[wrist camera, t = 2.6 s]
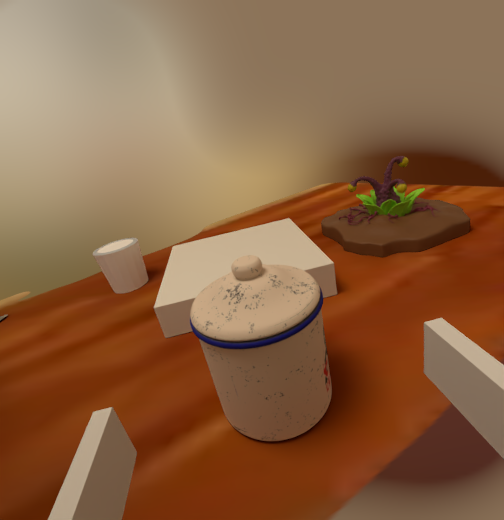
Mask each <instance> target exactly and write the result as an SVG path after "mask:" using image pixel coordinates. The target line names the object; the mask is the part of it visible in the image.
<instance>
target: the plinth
mask: <svg viewBox="0 0 504 520" xmlns="http://www.w3.org/2000/svg"><path fill="white" fill-rule="evenodd" d="M247 255H254V256H257V257H258V258H259V259H260V260H261V262H262V264H266V265H287V266H292V267H296V268H299V269H301V270H304V271H305V272H307V273H309V274H310V275H311V276H312V277H313V278H314V279H315V280H316V281H317V283H318V285H319V286H320V288H321V290H322V293H323V298H325V297H329V296H332V295H336V294H337V288H336V279H335V270H334V263H333V262H332V261H331V260H330V259H329V258H328V257H327V256H326V255H325V254H324V253H323V252H322V251H321V250H320V249H319V248H318V247H317V246H316V245H315V244H314V243H313V242H312V241H311V240H310V239H309V238H308V237H307V236H306V235H305V234H304V233H303V232H302V231H301V230H300V229H299V228H298V227H297V226H296V225H295V224H294V223H293V222H292V221H291V220H290V219H289V218H288V219H284V220H280V221H276V222H272V223H267V224H263V225H259V226H255V227H251V228H247V229H243V230H239V231H234V232H230V233H226V234H222V235H218V236H214V237H210V238H206V239H201V240H197V241H193V242H189V243H185V244H181V245H177V246H173V248H172V251H171V255H170V258H169V261H168V264H167V267H166V271H165V274H164V277H163V280H162V283H161V287H160V290H159V293H158V296H157V299H156V303H155V306H154V310H155V312H156V315H157V318H158V320H159V323H160V325H161V328H162V330H163V333H164V335H165V338H168V337H172V336H176V335H180V334H184V333H188V332H191V331H193V330H192V328H191V325H190V311H191V307H192V304H193V302H194V300H195V298H196V297H197V296H198V294H199V293H200V292H201V291H202V290H203V289H204V288H205V287H207V286H208V285H209V284H210V283H212V282H213V281H215V280H217V279H219V278H220V277H222V276H225V275H227V274H228V273H230V272H232V269H231V266H232V263H233V262H234V261H235V260H236V259H237V258H240V257H242V256H247Z"/></svg>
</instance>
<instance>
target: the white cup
mask: <svg viewBox="0 0 504 520" xmlns="http://www.w3.org/2000/svg"><path fill="white" fill-rule="evenodd" d="M93 256H94V257H95V259H96V261H97V263H98V264H99V266H100V268H101V269H102V271H103V273H104V275H105V277H106V278H107V280H108V282H109V284H110V285H111V287H112V289H113V291H114V292H115V293H127V292H130V291H133V290H136V289H138V288H140V287H142V286H143V285H144V284H146V283H147V281H148V280H149V279H148V276H147V272H146V268H145V265H144V261H143V257H142V254H141V250H140V247H139V243H138V240H137V238H126V239H121V240H117V241H114V242H111V243H109V244H106V245H104V246H102V247H100V248H98V249H96V250H95V251H94V252H93Z"/></svg>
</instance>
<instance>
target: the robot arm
mask: <svg viewBox="0 0 504 520" xmlns="http://www.w3.org/2000/svg"><path fill="white" fill-rule="evenodd" d="M424 373H425V374H426V376H427V377H428V378H429V379H430V380H431V381H432V382H433V383H434V384H435V385H436V386H437V387H438V388H439V390H440V391H441V392H442V393H443V394H444V395H445V396H446V397H447V398H448V399H449V400H450V401H451V403H452V404H453V405H454V406H455V407H456V408H457V409H458V410H459V411H460V412H461V413H462V414H463V415H464V417H465V418H466V419H467V420H468V421H469V422H470V423H471V424H472V425H473V426H474V427H475V428H476V430H477V431H478V432H479V433H480V434H481V435H482V436H483V437H484V438H485V439H486V440H487V441H488V442H489V444H490V445H492V447H493V448H494V449H495V450H496V451H497V452H498V453H499V454H500V455H501V457H502V458H503V459H504V365H503V364H501V363H500V362H499V361H497V360H496V359H495V358H493V357H492V356H491V355H490V354H488V353H487V352H486V351H484V350H483V349H482V348H480V347H479V346H478V345H476V344H475V343H474V342H472V341H471V340H470V339H469V338H467V337H466V336H465V335H463V334H462V333H461V332H459V331H458V330H457V329H455V328H454V327H453V326H452V325H450V324H449V323H448V322H446V321H445V320H444V319H442V318H439V319H435V320H432V321H428V322H424ZM136 455H137V452H136V450H135V448H134V446H133V444H132V442H131V441H130V439H129V437H128V435H127V433H126V431H125V429H124V428H123V426H122V424H121V422H120V420H119V418H118V416H117V415H116V413H115V411H114V409H113V407H110V408H106V409H103V410H99V411H95V412H93V414H92V416H91V419H90V421H89V423H88V426H87V428H86V431H85V433H84V435H83V438H82V440H81V442H80V445H79V447H78V449H77V452H76V454H75V457H74V459H73V461H72V464H71V466H70V468H69V471H68V473H67V476H66V478H65V480H64V483H63V485H62V487H61V490H60V492H59V494H58V497H57V499H56V502H55V504H54V506H53V509H52V511H51V513H50V516H49V518H48V520H122V516H123V512H124V508H125V503H126V499H127V494H128V490H129V486H130V481H131V477H132V473H133V468H134V464H135V459H136Z"/></svg>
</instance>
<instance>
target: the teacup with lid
mask: <svg viewBox="0 0 504 520" xmlns="http://www.w3.org/2000/svg"><path fill="white" fill-rule="evenodd" d="M231 269H232V272H230V273H228V274H227V275H225V276H222V277H220V278H219V279H217V280H215V281H213V282H212V283H210V284H209V285H208V286H207V287H205V288H204V289H203V290H202V291H201V292H200V293H199V294H198V296H197V297H196V298H195V300H194V302H193V304H192V307H191V311H190V325H191V328H192V330H193V332H194V334H195V335H196V336H197V337H198V338H199V340H200V343H201V346H202V349H203V352H204V355H205V358H206V360H207V363H208V366H209V369H210V372H211V375H212V378H213V381H214V384H215V387H216V390H217V393H218V396H219V399H220V402H221V405H222V408H223V411H224V413H225V415H226V418H227V419H228V421H229V422H230V423H231V425H232V426H233V427H234V428H235V429H236V430H238V431H239V432H241V433H242V434H244V435H246V436H248V437H250V438H253V439H257V440H262V441H281V440H286V439H290V438H293V437H296V436H298V435H300V434H302V433H304V432H306V431H308V430H309V429H311V428H312V427H313V426H314V425H315V424H316V423H318V422H319V420H320V419H321V418H322V417H323V415H324V414H325V412H326V410H327V409H328V406H329V404H330V400H331V395H332V385H331V377H330V370H329V363H328V356H327V349H326V342H325V334H324V327H323V320H322V313H321V307H322V304H323V293H322V290H321V288H320V286H319V285H318V283H317V281H316V280H315V279H314V278H313V277H312V276H311V275H310V274H309V273H307V272H305V271H304V270H301V269H299V268H296V267H292V266H287V265H266V264H262V262H261V260H260V259H259V258H258V257H257V256H254V255H247V256H242V257H240V258H237V259H236V260H235V261H234V262H233V263H232V266H231Z"/></svg>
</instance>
